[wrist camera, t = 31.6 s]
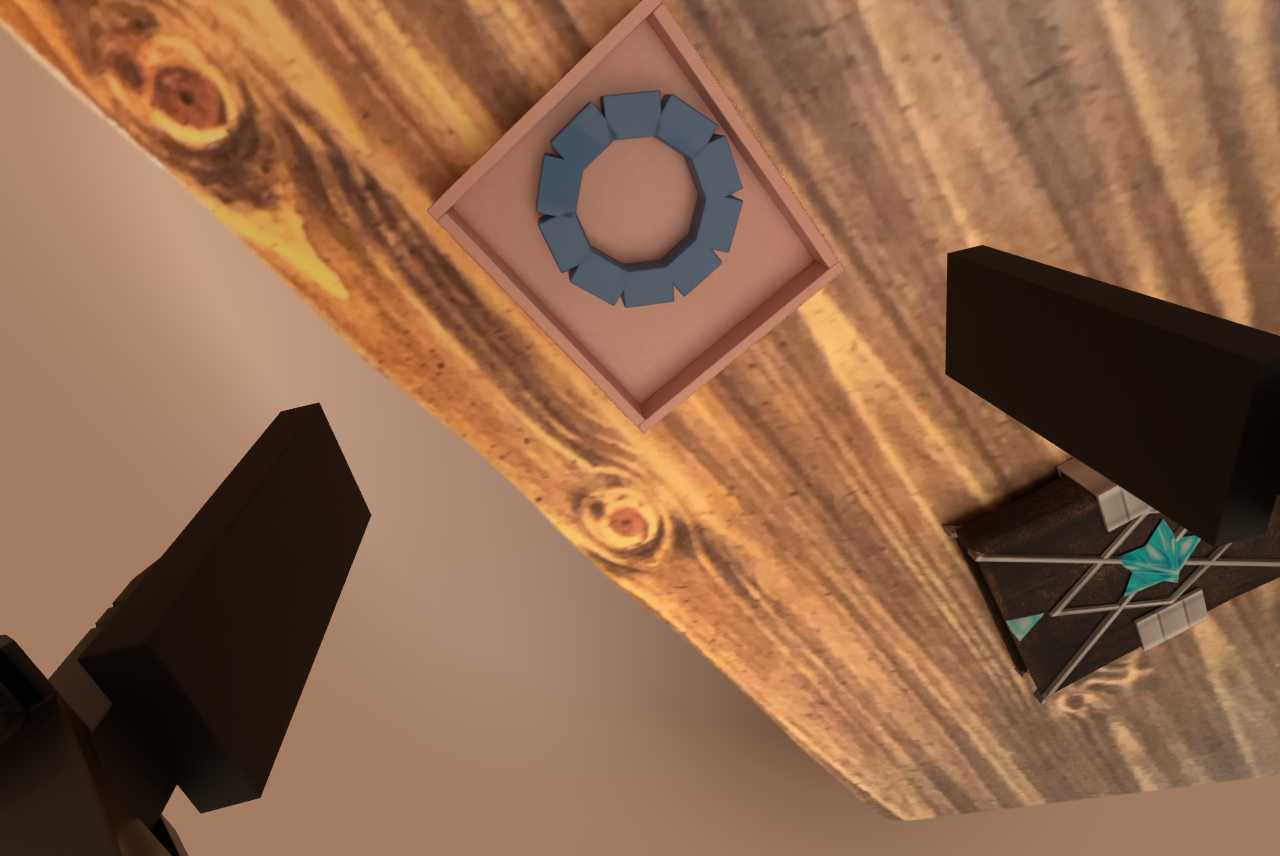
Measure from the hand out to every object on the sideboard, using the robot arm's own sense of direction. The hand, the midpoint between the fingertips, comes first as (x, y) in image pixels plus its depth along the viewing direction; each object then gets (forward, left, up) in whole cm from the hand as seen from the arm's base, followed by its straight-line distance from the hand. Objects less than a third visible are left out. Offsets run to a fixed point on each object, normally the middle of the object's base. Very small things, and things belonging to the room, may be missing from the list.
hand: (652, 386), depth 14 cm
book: (+32, -28, -22) cm, 47 cm away
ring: (+3, +1, -21) cm, 21 cm away
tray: (+3, -1, -21) cm, 22 cm away
